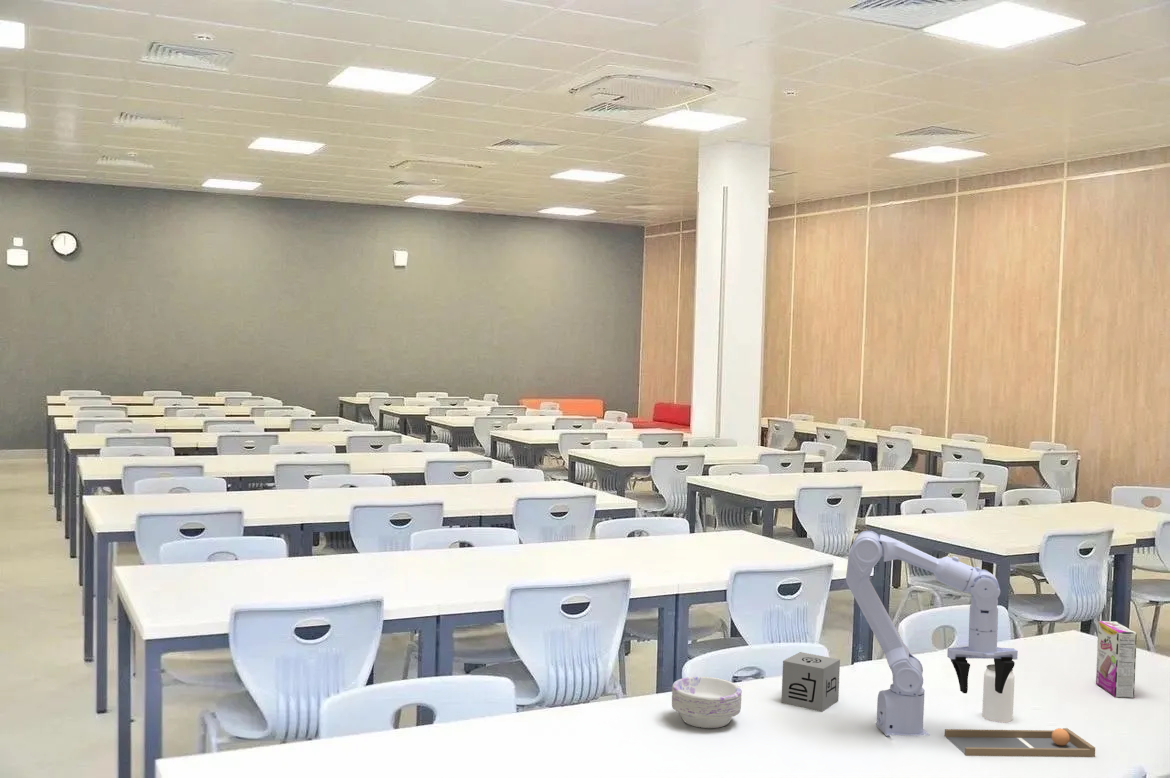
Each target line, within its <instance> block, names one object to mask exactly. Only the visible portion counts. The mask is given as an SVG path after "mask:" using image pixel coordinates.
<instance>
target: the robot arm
mask: <svg viewBox="0 0 1170 778" xmlns="http://www.w3.org/2000/svg"><path fill="white" fill-rule="evenodd" d="M847 555H848V558H847V567H846V574H845V575H846V576H845V581H846V584H847V586H848V588H849V591H850V592H851V594H852V596H853V597H854V600H855V602H856V603H857V605H858V607H859V608H860V611H861V613H862V614H863V616H864V618H865V620H866V622H867V624H868V625H869V628H870V630H871V631H872V632H873V635H874V637H875V639H876V641H877V642H878V645H880V648H881V650H882V652H883V654H884V655H885V656H884V657H885V658H886V662H887V665H888V667H889V669H890V671H891V673H892V684H890V685H889V688H888V689H885V690H883V689H882V690H879V692H878V695H877V699H876V701H877V703H876V704H877V705H876V722H875V723H874V725H875V726H877V728H878V729H879V730H880V731H881V733H883V734H884V735H885V736H886V737H891V736H930V734H929V732H928V731H926V730H925V729H924V717H925V716H924V715H925V714H924V711H925V689H924V687H923V685H924V677H923V672H924V667H923V664H922V663H921V661H920V660H919V659H918V658H917V657H915V656H914V655H913V654H912V653H911V651H910V649H909V647H908V646H906V644H905V643H904V641H903V639H902V638H901V636H900V634H899V632H898V630H897V628H896V626H895V624H894V622H893V621H892V619H891V617H890V615H889V613H888V612H887V609H886V607H885V606H884V604H883V602H882V600H881V598H880V597H879V595H878V593H877V591H876V589H875V587H874V585H873V584H872V582H871V580H870V577H871V575H872V572H873V568H874V567H875V566H876V565H877V563H878V562H879V561H880V560H881V558H883V562H885V563H886V562H888V561H889V562H891V561H895V560H897V561H898V560H899V561H901V562H903V563H907V564H909V565H911V566H914V567H917V568H919V569H922V570H925V571H927V572H930V573H933V576H934V577H935V580H936V581H937V582H939V583H942V584H944V585H946V586H949V587H951V588H954V589H956V590H958V591H960V592H963V593H969V594H971V596H970V605H969V617H968V618H969V619H968V621H969V622H968V644H967V646H960V647H959V646H958V647H948V648H947V651H946V652H947V653H946V654H947V658H949V659H950V662H951V663H952V666H953V668H954V671H955V674H956V677H957V680H958V684H959V691H960V692H962V694H968V688H969V687H968V686H969V682H968V681H969V673H970V672H969V671H970V668H971V663H969V662H968V659H987V660H988V659H992V660H993V663H994V664H995V691H996V692H998V693H1002V692H1003V688H1004V685H1005V682H1006V680H1007V677H1008V675H1009V673H1010V672H1011V670H1012V669H1013V670H1014V668H1015V665H1016V663H1015V660H1018V655H1019V654H1018V650H1017V649H1015V648H1011V647H1001V646H998V628H999V627H998V624H999V608H998V605H999V599H998V598H999V597H1000V595H1001V589H1000V584H999V581H998V579H997V578H996V576H995V575H994V574H992V573H991V572H990V571H988V570H987V569H981V567H979V566H975V567H974V566H971V565H969V564H967V563H964V562H962V561H960V558H959V557H957V556H956V555H952V557H951V556H947V555H946V556H944V557H941V558H940V557H939V558H937V557H935V556H932V555H930V554H928V553H926V552H924V551H922V550H919V549H917V548H915V547H914V546H911V545H909V544H906V543H905V542H902V541H900V540H897V539H896V538H894V537H892V536H891V537H890V536H888V535H886V534H885V535H884V534H878V533H876V532H875V531H872V530H864V531H861V532H859V533H858V534H857V535H856V536H855V538H854V540H853V542H852V544H851V546H850V550H849V553H848V554H847Z"/></svg>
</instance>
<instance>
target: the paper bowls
mask: <svg viewBox="0 0 1170 778" xmlns="http://www.w3.org/2000/svg"><path fill="white" fill-rule="evenodd" d="M742 693H743V690H742V688H741V687H740V686H739V685H738V684H736V683H734V682H732V681H729V680H726V679H723V678H718V677H711V676H689V677H688V676H687V677H683V678H679V679H677V680H676V681H674V682H673V684H672V687H671V708H672V709H673V711H675V712H677V713H679V715H680V717H681V719H682V720H683V721H684V722H685V723H686V724H687V725H689V726H692V727H696V728H700V727H701V729H718V728H721V727H725V726H727V725H728V724H729V723H730V721H731V720H732V718H733V717H736V716H737V715H739V714H740V712H741V709H742Z"/></svg>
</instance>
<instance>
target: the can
mask: <svg viewBox="0 0 1170 778" xmlns="http://www.w3.org/2000/svg"><path fill="white" fill-rule="evenodd" d="M985 666H986V669H985V671H984V672H983V673H984V674H983V692H982V693H983V694H982V709H981V710H982V718H984V719H985V720H987V721H990V722H995V723H1001V724H1002V723H1003V724H1004V723H1006V724H1007V723H1011V722H1013V720H1014V697H1015V675H1014V672H1013V671H1014V668H1013V669H1012V670H1011V672H1010V673H1009V675H1008V677H1007V680H1006V682H1005V685H1004V688H1003V692H1002V693H998V692H996V691H995V664H988V665H985Z"/></svg>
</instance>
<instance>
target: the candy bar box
mask: <svg viewBox="0 0 1170 778" xmlns="http://www.w3.org/2000/svg"><path fill="white" fill-rule="evenodd" d="M1097 623H1098V625H1097V646H1096V648H1097V650H1096V651H1097V653H1096V673H1095V674H1096V677H1095V685H1097V686H1099V687H1100V688H1102V689H1103V690H1104V691H1106V692H1107V693H1109V694H1110V695H1111V696H1113V697H1114V698H1116V699H1117V698H1118V699H1134V698H1135V687H1136V685H1135V683H1136V682H1135V680H1136V660H1137V659H1136V658H1137V636H1138V633H1137V632H1136V631H1134V630H1132V629H1131V628H1128V627H1126V626H1125V625H1123V624H1122V623H1120V622H1118V621H1111V620H1110V621H1109V620H1099V621H1097Z"/></svg>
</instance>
